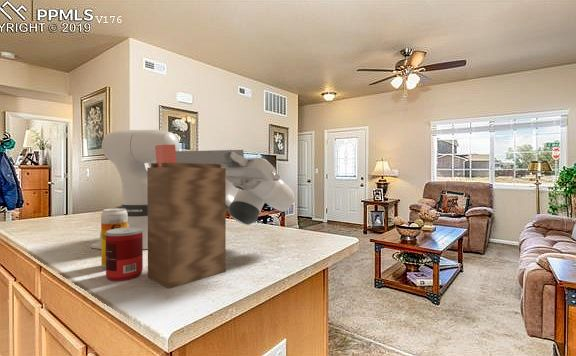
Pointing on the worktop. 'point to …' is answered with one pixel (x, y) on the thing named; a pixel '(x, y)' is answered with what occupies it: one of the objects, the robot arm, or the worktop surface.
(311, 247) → the worktop surface
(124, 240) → the canned food
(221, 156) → the metal block
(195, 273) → the wooden slab
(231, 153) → the robot arm
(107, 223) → the beer can
